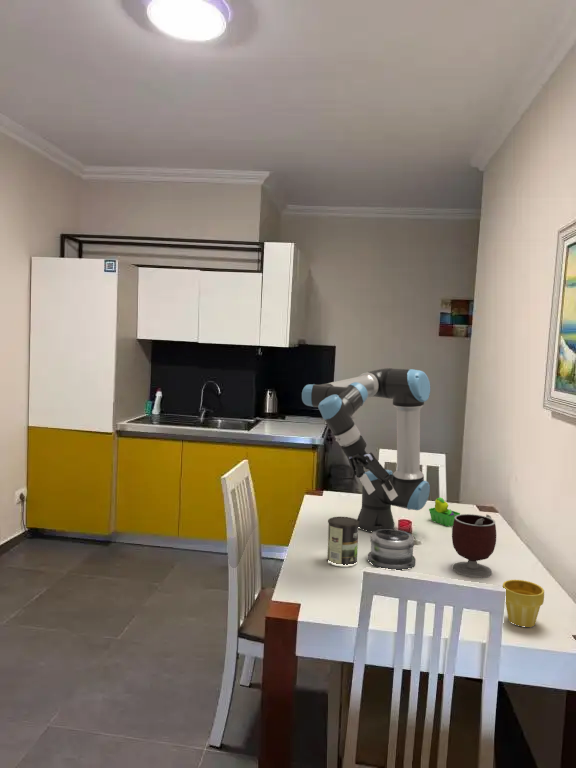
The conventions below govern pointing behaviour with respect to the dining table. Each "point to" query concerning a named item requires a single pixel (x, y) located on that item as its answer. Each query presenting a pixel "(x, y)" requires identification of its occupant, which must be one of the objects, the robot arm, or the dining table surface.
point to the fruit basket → (442, 513)
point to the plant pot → (523, 601)
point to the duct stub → (392, 549)
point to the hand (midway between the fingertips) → (382, 495)
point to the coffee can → (342, 540)
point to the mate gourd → (473, 543)
